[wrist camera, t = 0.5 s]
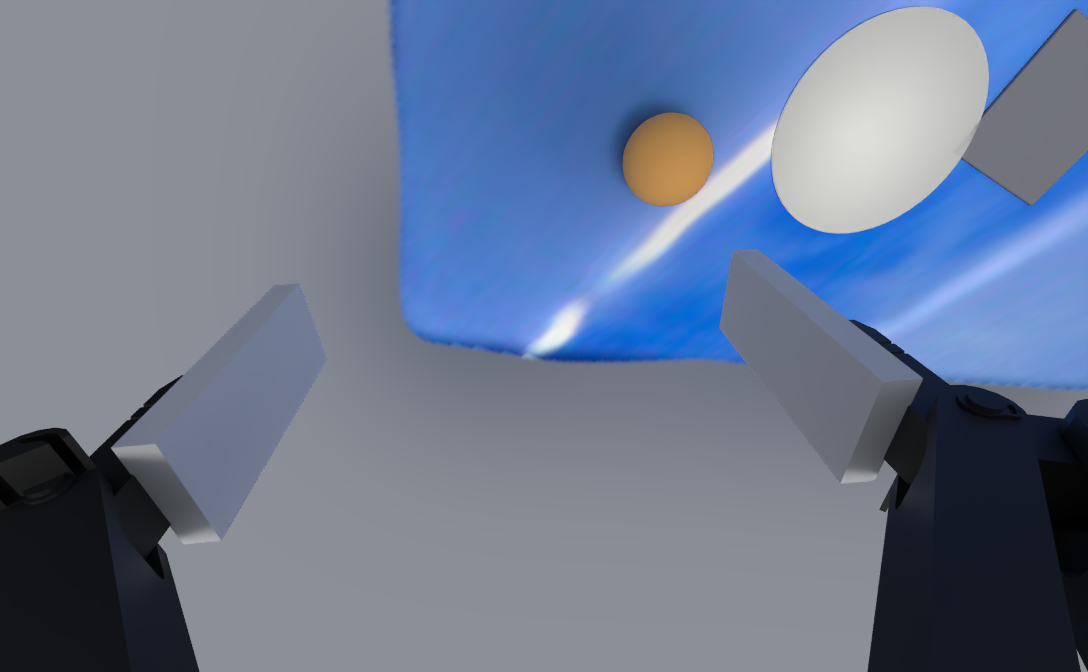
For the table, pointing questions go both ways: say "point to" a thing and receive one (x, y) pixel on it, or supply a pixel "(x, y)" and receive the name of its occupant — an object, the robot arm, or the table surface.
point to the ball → (668, 159)
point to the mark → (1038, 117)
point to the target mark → (879, 119)
